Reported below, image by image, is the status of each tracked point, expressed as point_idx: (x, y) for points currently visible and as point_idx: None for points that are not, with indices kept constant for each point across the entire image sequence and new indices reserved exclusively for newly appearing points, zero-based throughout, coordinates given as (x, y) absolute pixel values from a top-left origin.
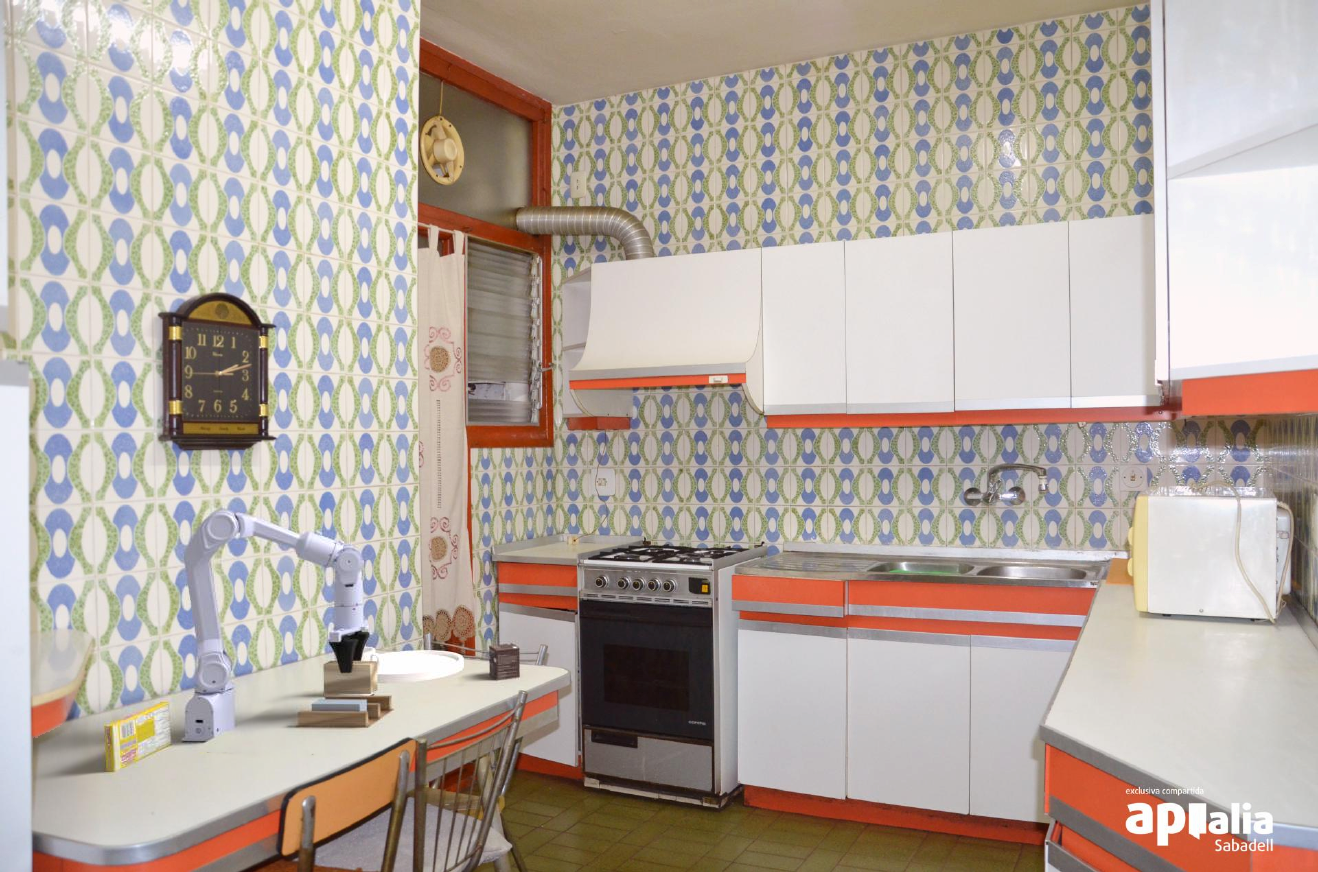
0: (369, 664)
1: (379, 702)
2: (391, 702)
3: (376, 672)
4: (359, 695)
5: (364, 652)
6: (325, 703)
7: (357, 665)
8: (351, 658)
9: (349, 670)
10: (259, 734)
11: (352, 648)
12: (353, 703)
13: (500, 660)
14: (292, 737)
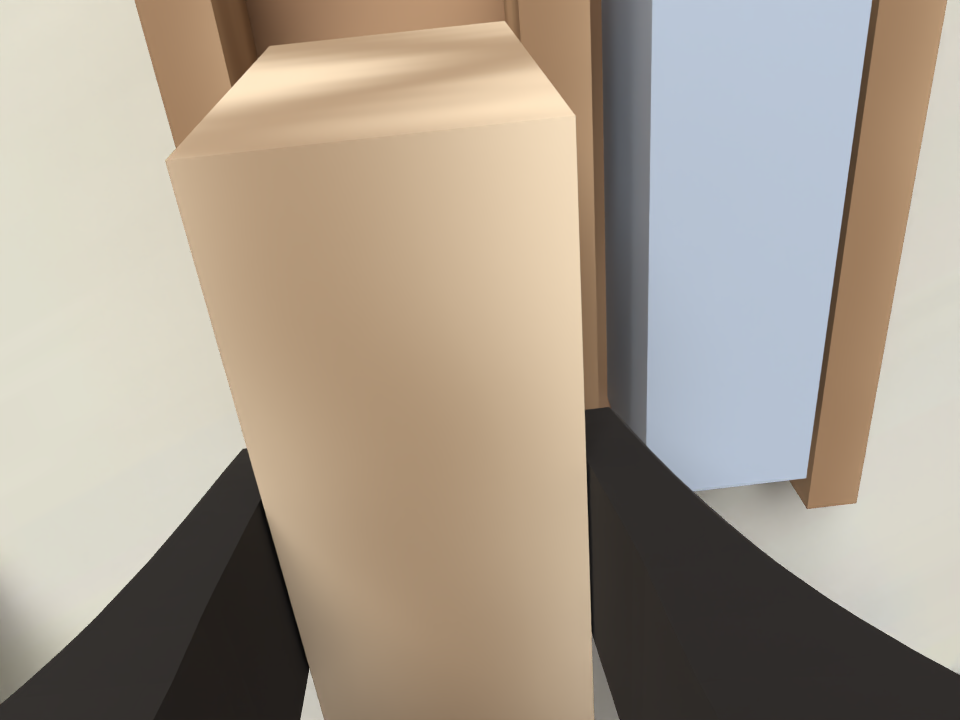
0: (542, 152)
1: (233, 29)
2: None
3: (252, 97)
4: None
5: None
6: (807, 368)
7: (579, 377)
8: (733, 528)
9: (631, 430)
10: (838, 580)
11: (932, 680)
12: (837, 69)
13: None
14: (936, 372)
